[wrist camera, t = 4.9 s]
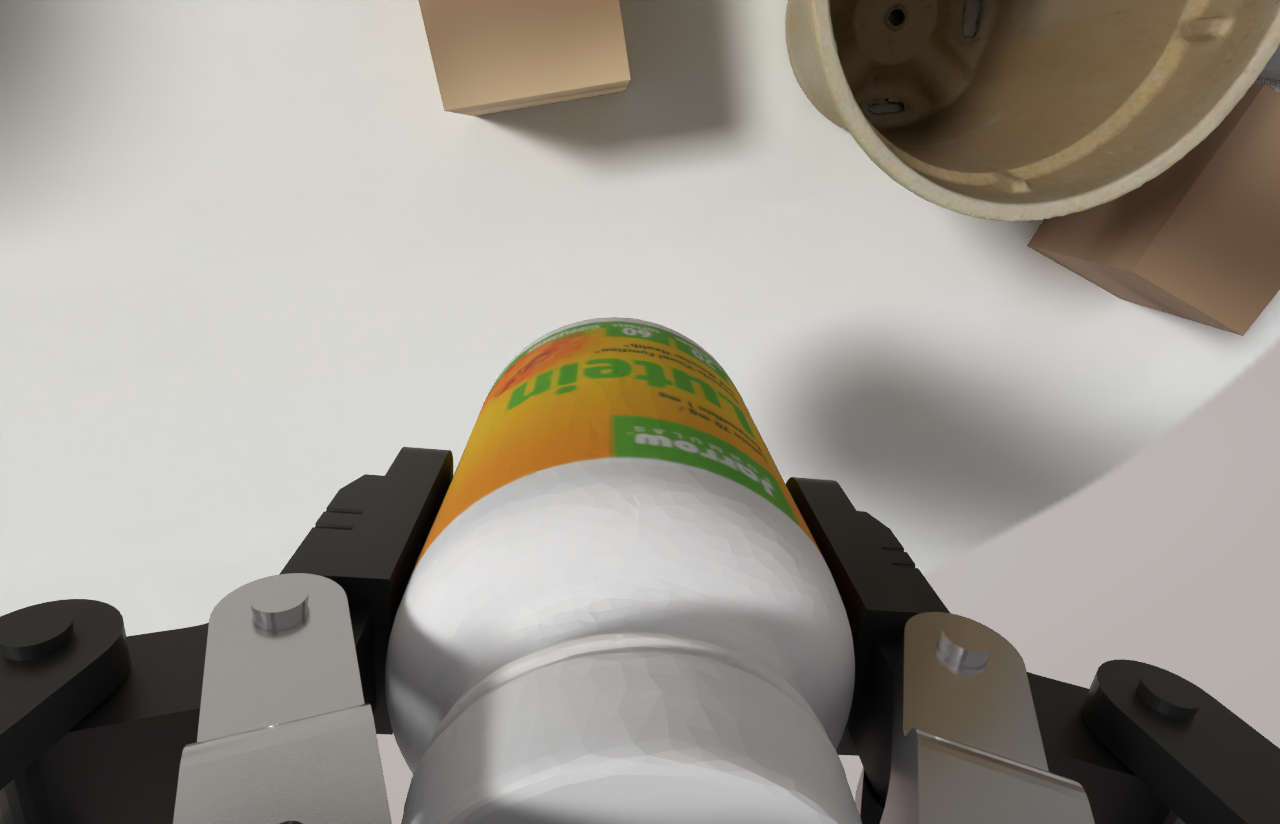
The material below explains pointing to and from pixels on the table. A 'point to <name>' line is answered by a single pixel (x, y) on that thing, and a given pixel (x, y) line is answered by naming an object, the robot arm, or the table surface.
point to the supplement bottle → (620, 607)
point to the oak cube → (524, 52)
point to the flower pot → (1029, 91)
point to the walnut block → (1190, 227)
